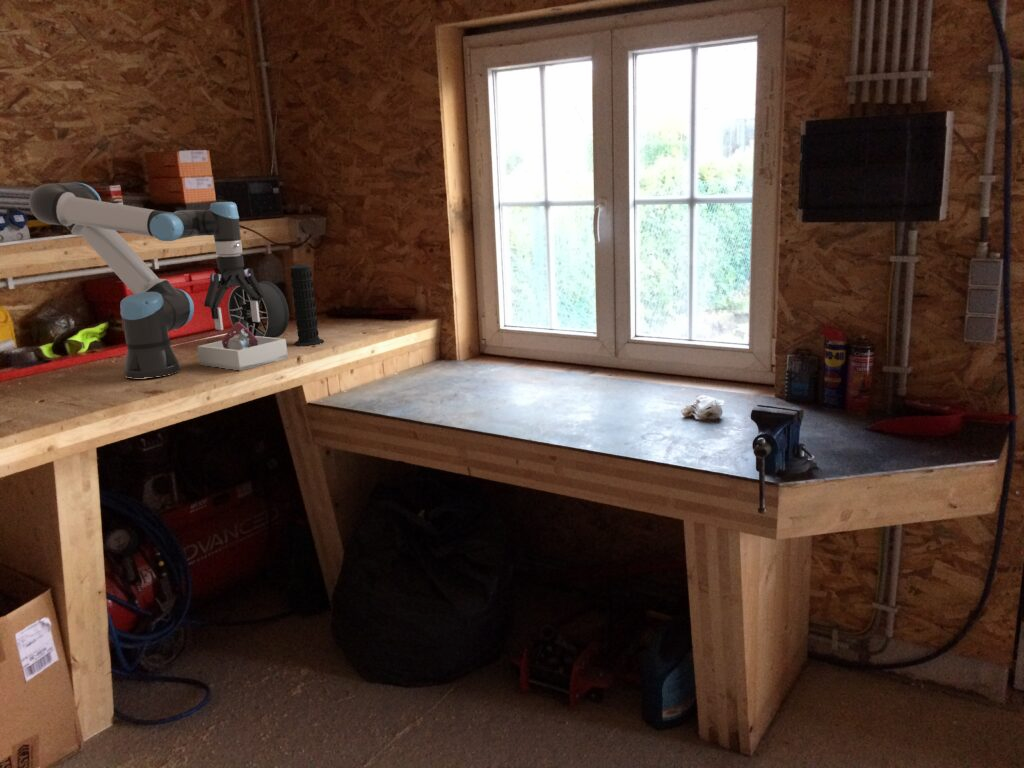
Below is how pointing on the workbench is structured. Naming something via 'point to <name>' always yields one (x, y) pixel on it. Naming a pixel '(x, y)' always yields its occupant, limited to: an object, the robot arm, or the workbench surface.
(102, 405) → the workbench surface
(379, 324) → the workbench surface
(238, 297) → the wheel rim
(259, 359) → the bin
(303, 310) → the handle grip
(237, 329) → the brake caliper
